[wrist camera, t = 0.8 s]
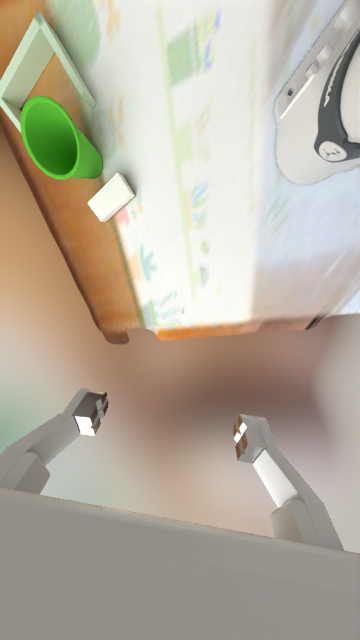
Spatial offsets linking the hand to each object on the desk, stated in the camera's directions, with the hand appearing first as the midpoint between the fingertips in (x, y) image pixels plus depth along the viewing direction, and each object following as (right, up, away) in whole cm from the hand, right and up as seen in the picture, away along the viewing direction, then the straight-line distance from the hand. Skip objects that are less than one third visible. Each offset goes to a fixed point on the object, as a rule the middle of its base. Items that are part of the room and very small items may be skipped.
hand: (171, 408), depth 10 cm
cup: (-18, +38, +25) cm, 49 cm away
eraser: (-14, +32, +28) cm, 45 cm away
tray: (-23, +45, +21) cm, 55 cm away
